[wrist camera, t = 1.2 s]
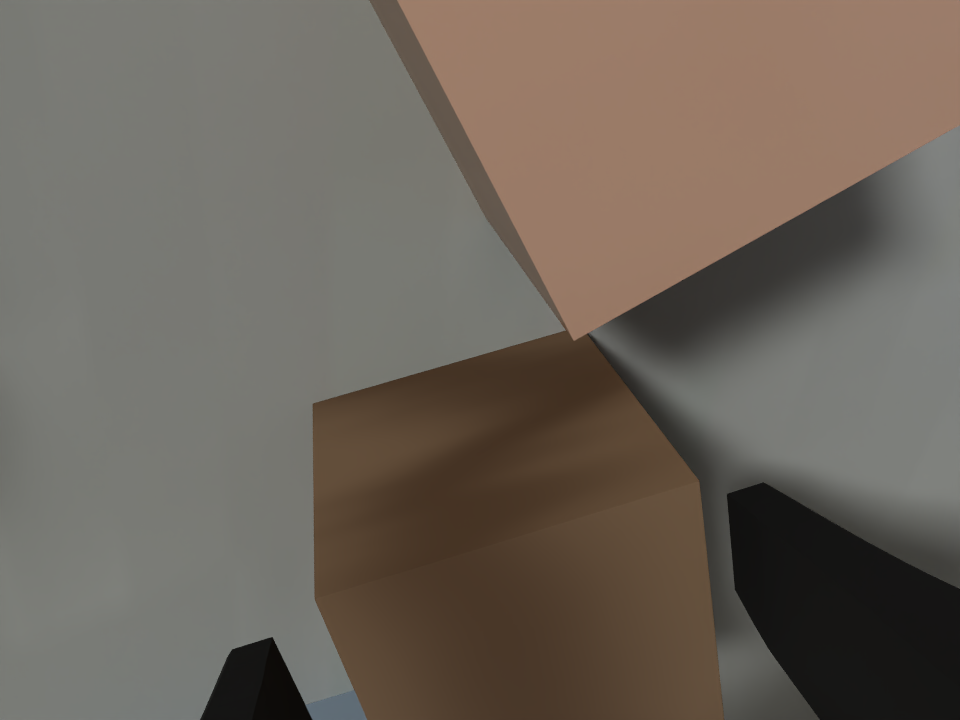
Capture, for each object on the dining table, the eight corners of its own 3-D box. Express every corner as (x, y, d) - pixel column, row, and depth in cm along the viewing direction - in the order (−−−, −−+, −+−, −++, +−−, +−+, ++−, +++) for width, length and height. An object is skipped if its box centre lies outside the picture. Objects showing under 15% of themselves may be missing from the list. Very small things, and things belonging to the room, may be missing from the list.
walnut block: (579, 324, 14) (698, 480, 10) (615, 531, 17) (725, 732, 12) (312, 401, 14) (315, 598, 10) (388, 601, 16) (417, 834, 12)
